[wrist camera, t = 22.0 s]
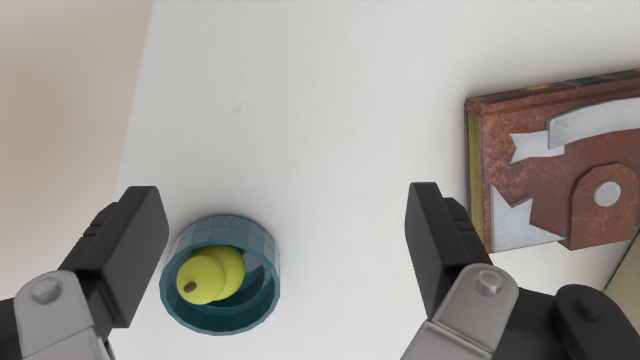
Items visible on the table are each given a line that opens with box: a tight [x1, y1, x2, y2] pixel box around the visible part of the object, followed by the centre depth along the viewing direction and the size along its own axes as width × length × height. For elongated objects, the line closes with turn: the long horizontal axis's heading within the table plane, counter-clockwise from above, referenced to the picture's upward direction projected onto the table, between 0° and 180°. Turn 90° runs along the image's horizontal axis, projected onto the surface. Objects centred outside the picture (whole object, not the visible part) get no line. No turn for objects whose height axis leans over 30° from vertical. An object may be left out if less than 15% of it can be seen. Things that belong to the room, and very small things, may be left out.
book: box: [464, 69, 640, 254], centre depth 38 cm, size 23×16×5 cm
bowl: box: [159, 216, 280, 336], centre depth 38 cm, size 11×11×5 cm
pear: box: [176, 245, 245, 304], centre depth 35 cm, size 5×5×9 cm
